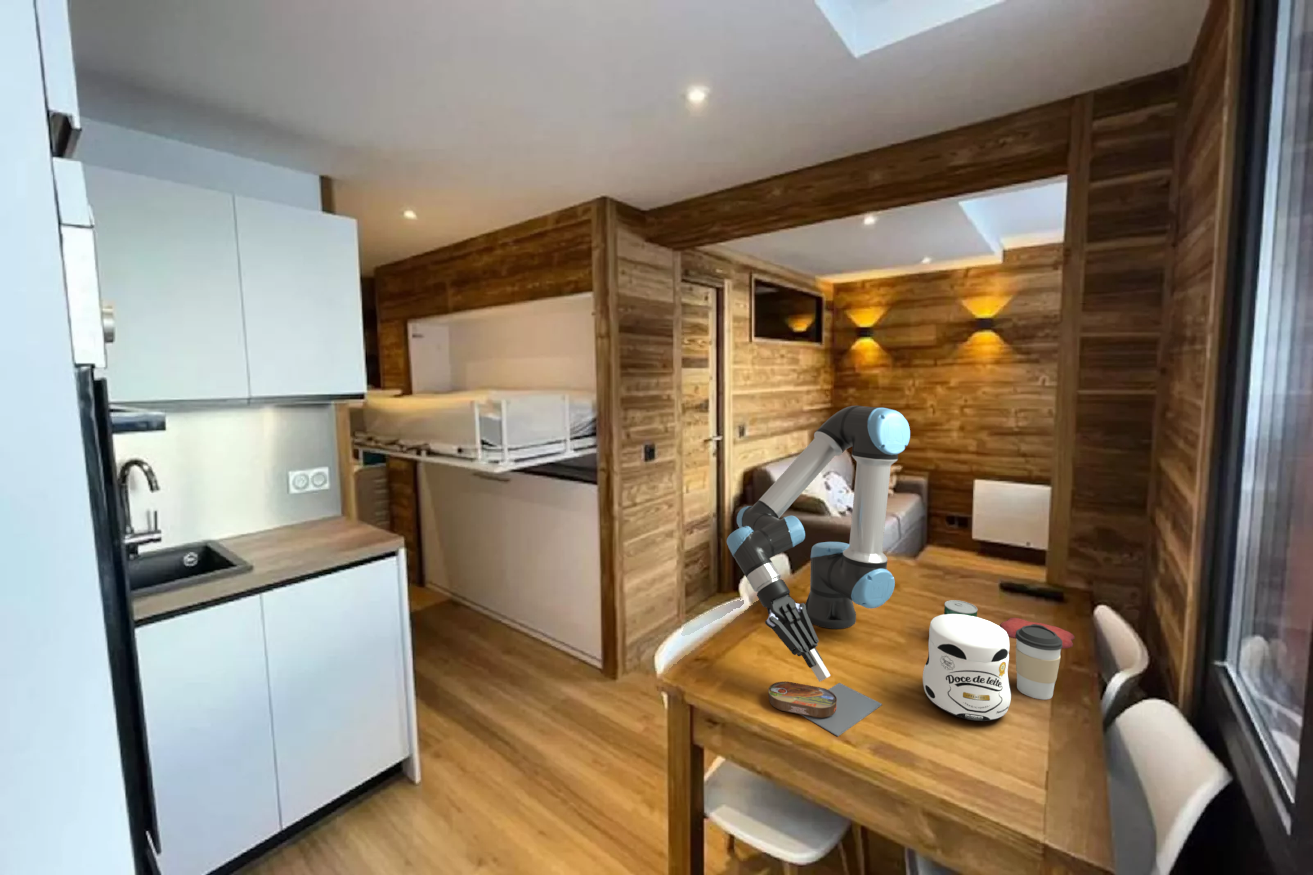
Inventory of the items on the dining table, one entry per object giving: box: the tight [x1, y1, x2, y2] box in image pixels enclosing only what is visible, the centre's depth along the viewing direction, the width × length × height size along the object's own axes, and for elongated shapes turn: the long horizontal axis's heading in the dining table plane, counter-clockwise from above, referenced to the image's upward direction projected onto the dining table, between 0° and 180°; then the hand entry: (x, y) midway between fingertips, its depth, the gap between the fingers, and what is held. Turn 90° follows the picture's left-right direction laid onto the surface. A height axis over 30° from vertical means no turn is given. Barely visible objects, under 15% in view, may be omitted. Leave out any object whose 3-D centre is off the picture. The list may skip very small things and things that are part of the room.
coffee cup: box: [1015, 624, 1063, 700], centre depth 130 cm, size 9×9×15 cm
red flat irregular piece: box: [999, 617, 1075, 649], centre depth 158 cm, size 18×14×2 cm
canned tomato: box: [943, 599, 978, 617], centre depth 152 cm, size 8×8×11 cm
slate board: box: [799, 682, 883, 737], centre depth 125 cm, size 11×17×1 cm, turn 128°
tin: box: [767, 681, 837, 718], centre depth 126 cm, size 15×3×8 cm
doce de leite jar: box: [922, 613, 1012, 722], centre depth 125 cm, size 17×17×18 cm
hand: (825, 678), depth 126 cm, fingers closed
